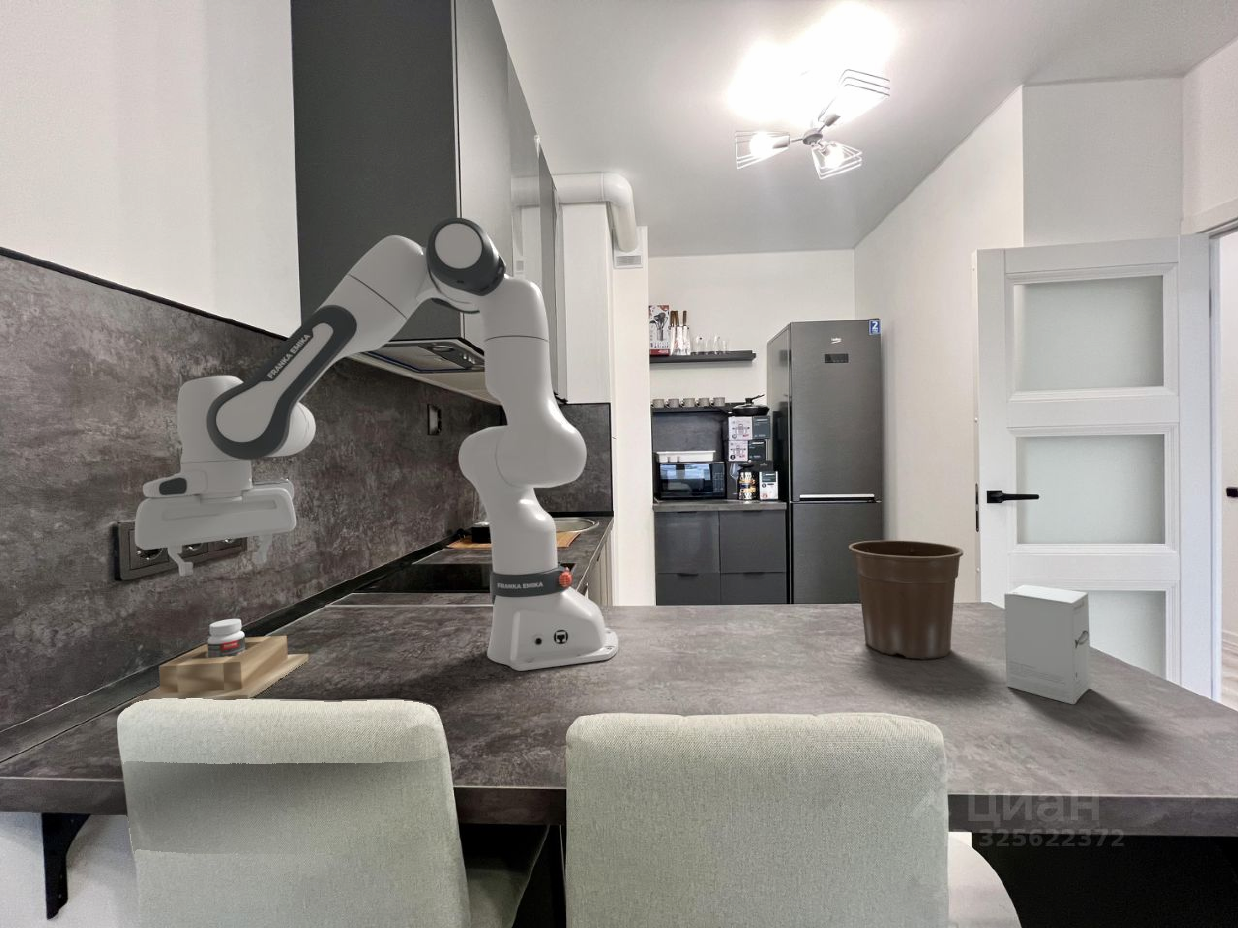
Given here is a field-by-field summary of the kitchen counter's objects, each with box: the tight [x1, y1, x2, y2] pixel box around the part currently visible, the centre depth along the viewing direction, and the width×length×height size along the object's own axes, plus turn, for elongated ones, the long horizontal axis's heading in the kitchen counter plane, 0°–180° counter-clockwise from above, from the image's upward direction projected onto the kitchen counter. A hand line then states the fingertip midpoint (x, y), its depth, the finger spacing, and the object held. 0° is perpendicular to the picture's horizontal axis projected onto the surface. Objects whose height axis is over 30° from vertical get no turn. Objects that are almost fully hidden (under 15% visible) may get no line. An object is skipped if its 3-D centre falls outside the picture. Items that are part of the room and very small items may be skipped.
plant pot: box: [848, 540, 964, 660], centre depth 87 cm, size 16×16×16 cm
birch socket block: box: [131, 635, 309, 705], centre depth 84 cm, size 16×16×5 cm
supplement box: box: [1003, 584, 1092, 705], centre depth 70 cm, size 7×7×13 cm
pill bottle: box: [206, 618, 246, 658], centre depth 84 cm, size 5×5×8 cm
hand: (224, 568), depth 84 cm, fingers open, 8 cm apart
